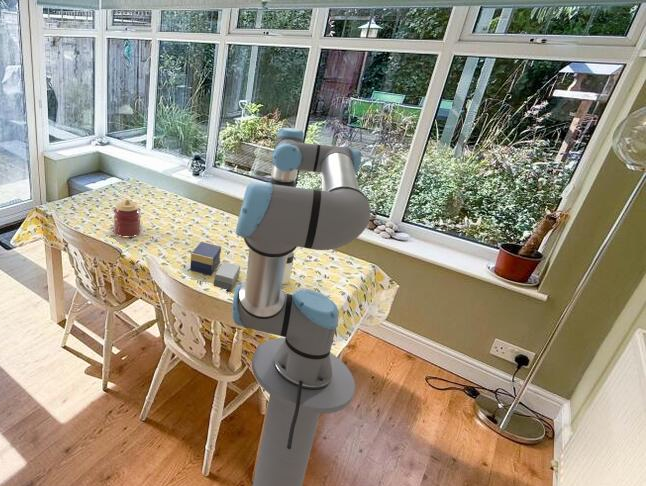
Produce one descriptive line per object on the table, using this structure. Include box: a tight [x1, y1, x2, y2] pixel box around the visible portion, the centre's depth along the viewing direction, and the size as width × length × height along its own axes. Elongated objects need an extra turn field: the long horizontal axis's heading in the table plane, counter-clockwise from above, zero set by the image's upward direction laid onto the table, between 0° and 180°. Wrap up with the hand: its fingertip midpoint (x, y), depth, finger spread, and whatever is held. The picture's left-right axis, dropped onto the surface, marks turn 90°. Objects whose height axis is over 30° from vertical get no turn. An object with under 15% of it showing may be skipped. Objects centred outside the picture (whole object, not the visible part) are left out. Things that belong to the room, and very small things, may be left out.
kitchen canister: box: [113, 198, 142, 236], centre depth 197 cm, size 13×13×18 cm
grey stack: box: [212, 261, 241, 292], centre depth 160 cm, size 12×7×5 cm, turn 153°
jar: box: [282, 251, 295, 285], centre depth 162 cm, size 9×8×12 cm
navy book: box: [190, 241, 222, 265], centre depth 169 cm, size 12×9×3 cm
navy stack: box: [189, 254, 221, 277], centre depth 171 cm, size 12×9×5 cm
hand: (273, 240), depth 135 cm, fingers open, 13 cm apart
